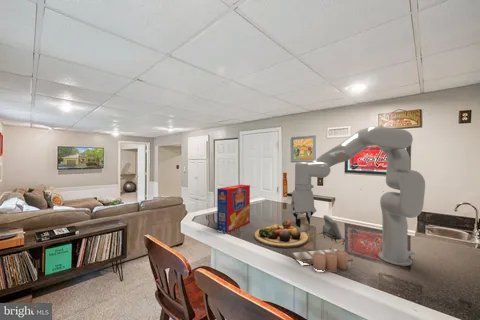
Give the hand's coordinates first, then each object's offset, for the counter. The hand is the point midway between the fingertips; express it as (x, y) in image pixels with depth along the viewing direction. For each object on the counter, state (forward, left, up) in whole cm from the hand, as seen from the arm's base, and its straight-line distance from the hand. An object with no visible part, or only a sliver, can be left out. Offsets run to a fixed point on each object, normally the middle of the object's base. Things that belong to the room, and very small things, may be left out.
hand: (302, 225), depth 100 cm
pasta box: (+23, -51, -15) cm, 59 cm away
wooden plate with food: (0, -27, -16) cm, 31 cm away
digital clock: (-34, -25, -15) cm, 45 cm away
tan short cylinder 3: (-13, +11, -15) cm, 23 cm away
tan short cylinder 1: (-2, +12, -15) cm, 19 cm away
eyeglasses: (-22, -13, -16) cm, 30 cm away
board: (-9, +2, -15) cm, 17 cm away
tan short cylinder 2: (-7, +12, -15) cm, 20 cm away
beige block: (0, +2, -2) cm, 3 cm away
